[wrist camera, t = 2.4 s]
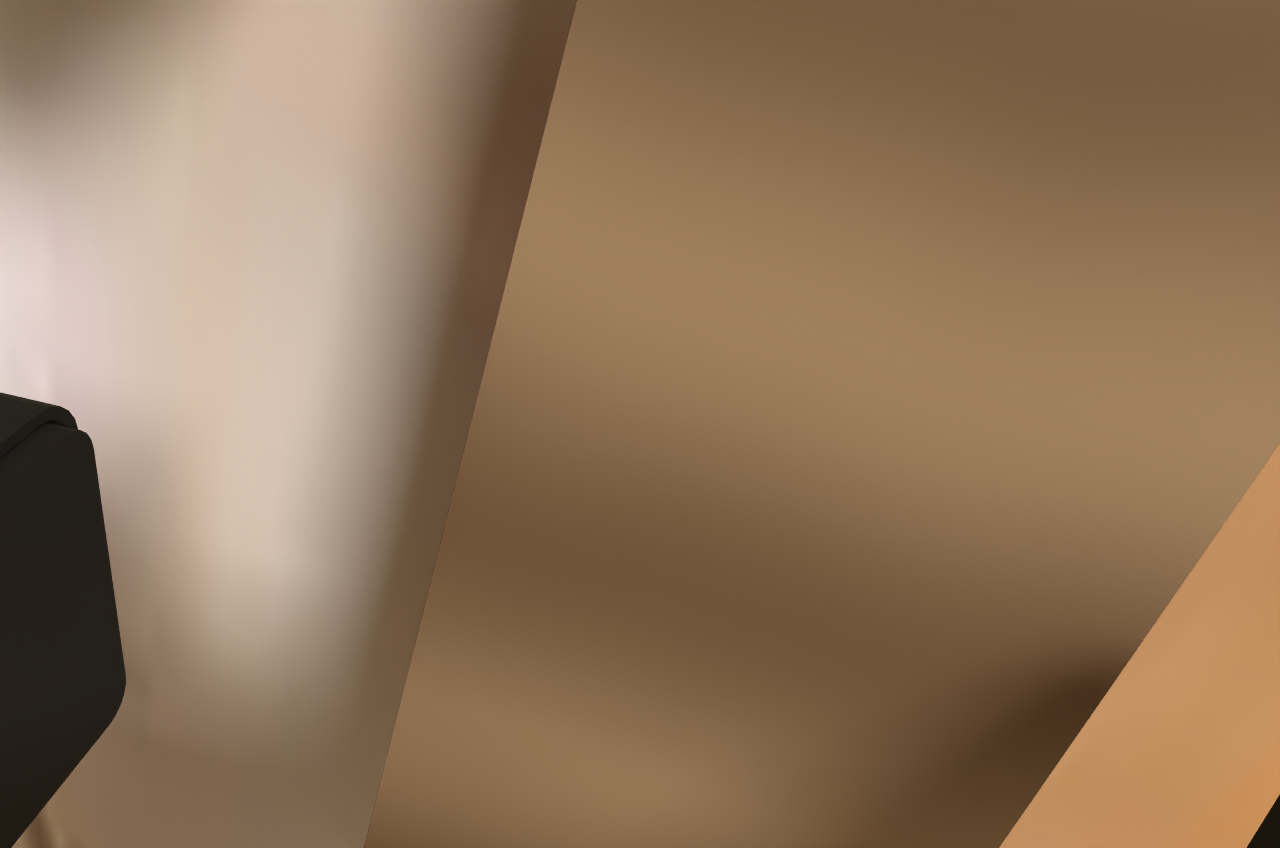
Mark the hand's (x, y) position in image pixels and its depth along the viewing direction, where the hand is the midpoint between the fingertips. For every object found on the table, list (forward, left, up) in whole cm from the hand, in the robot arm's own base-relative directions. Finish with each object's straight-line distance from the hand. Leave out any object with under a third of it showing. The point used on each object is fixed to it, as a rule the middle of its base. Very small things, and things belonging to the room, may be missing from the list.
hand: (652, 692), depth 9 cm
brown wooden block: (-1, -1, -7) cm, 7 cm away
